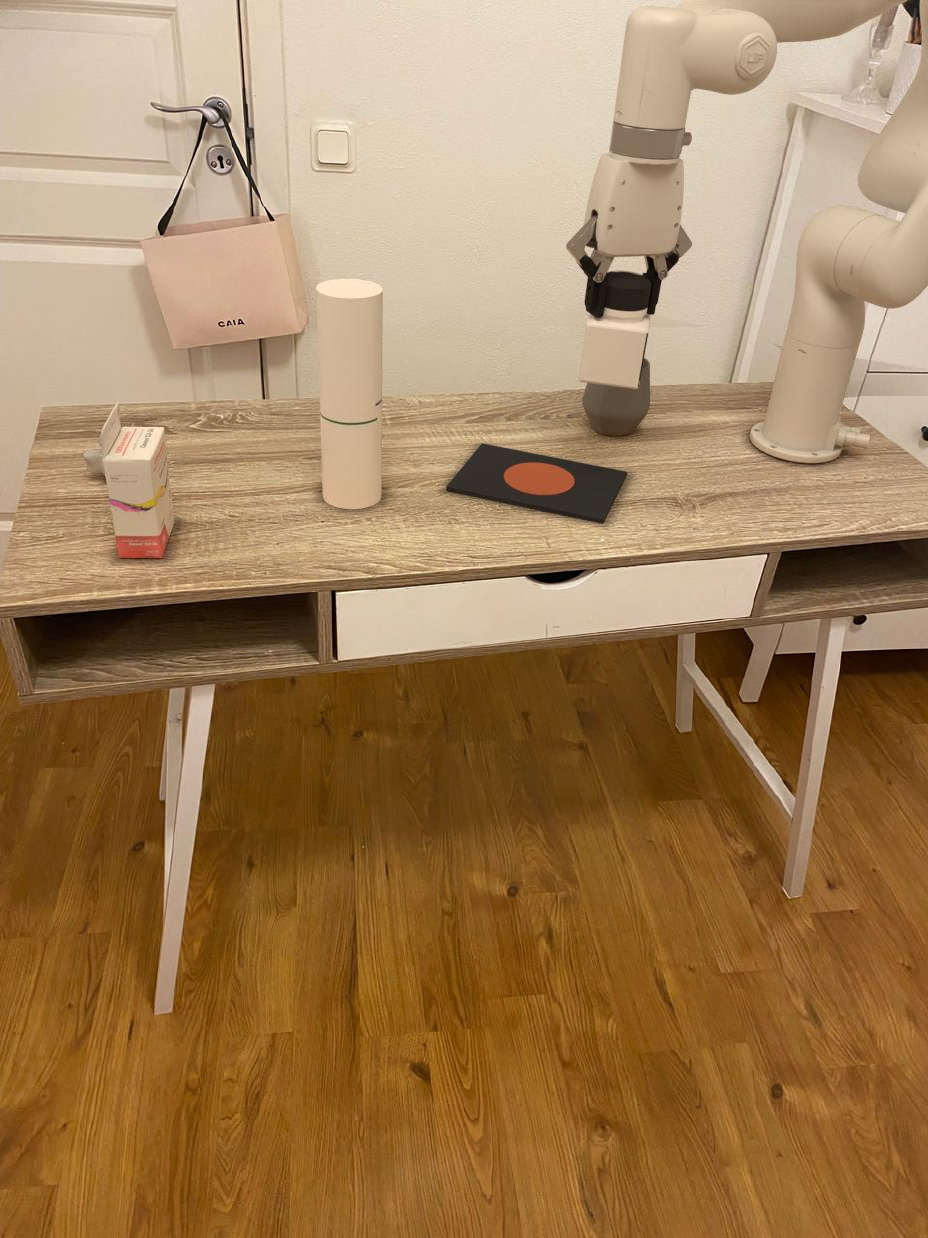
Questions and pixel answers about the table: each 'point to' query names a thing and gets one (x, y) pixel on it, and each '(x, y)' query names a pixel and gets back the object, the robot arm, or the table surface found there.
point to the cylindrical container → (350, 391)
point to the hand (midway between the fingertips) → (620, 311)
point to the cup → (617, 405)
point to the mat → (539, 482)
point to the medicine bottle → (618, 333)
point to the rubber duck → (95, 458)
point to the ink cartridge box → (137, 487)
